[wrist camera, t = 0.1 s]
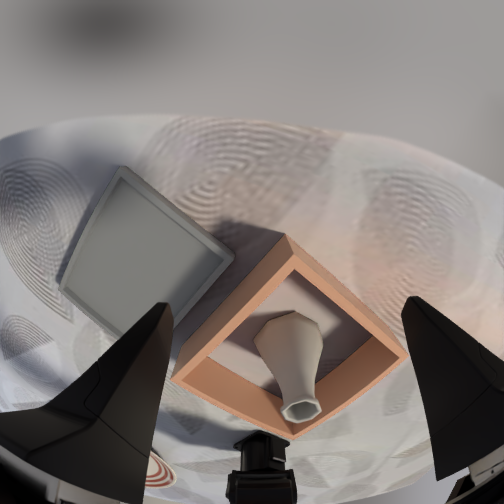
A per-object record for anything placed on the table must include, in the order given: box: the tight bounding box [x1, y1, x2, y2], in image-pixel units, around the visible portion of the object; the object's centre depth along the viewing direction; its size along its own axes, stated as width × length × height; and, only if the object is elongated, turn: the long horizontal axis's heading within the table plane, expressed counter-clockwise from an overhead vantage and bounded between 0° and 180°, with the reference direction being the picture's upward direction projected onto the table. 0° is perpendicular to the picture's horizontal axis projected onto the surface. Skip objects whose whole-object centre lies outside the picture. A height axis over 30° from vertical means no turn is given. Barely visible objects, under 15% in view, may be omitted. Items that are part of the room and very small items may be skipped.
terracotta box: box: [170, 234, 409, 440], centre depth 26 cm, size 17×17×6 cm
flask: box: [253, 312, 323, 423], centre depth 24 cm, size 7×7×10 cm
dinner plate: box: [145, 451, 177, 488], centre depth 37 cm, size 28×27×3 cm
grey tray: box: [58, 166, 235, 340], centre depth 25 cm, size 16×13×2 cm
